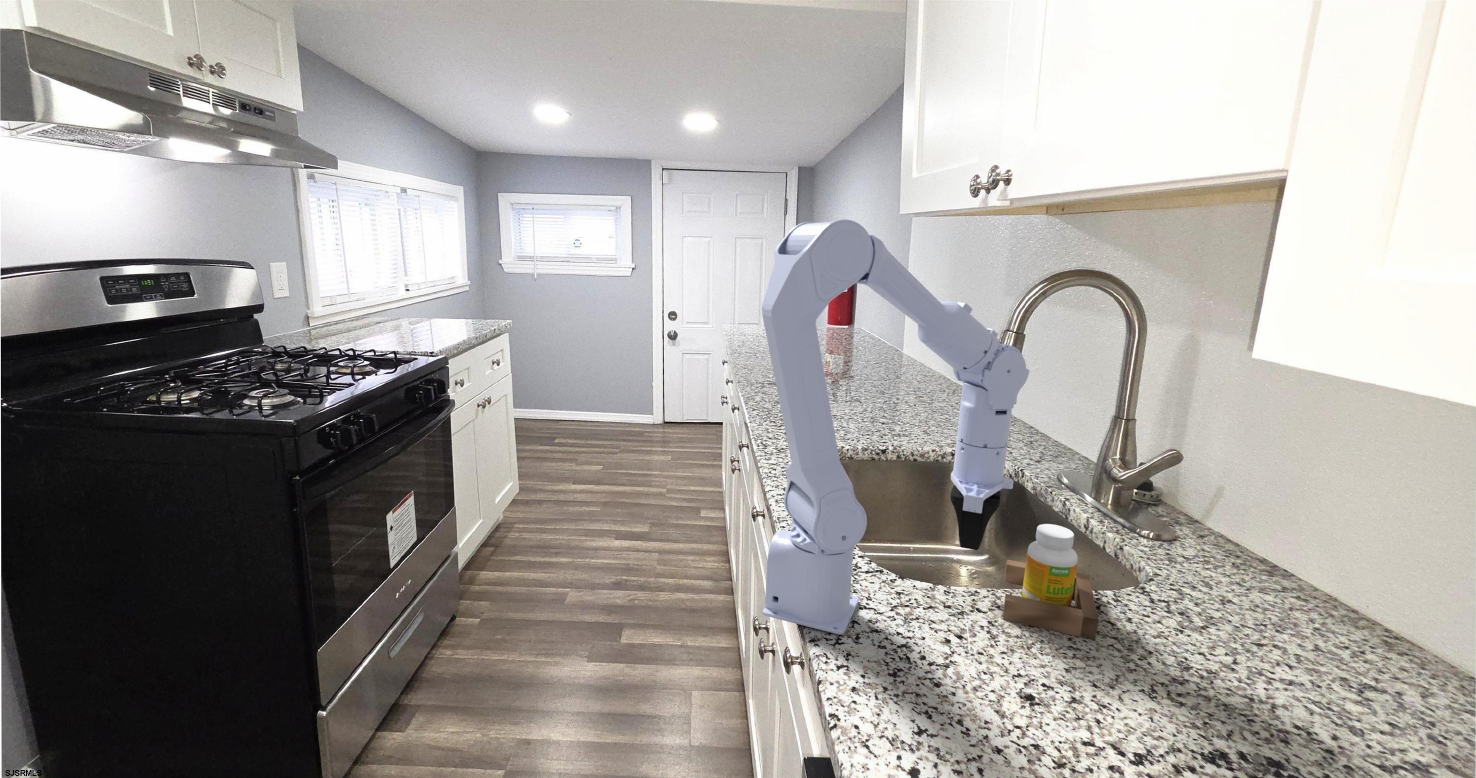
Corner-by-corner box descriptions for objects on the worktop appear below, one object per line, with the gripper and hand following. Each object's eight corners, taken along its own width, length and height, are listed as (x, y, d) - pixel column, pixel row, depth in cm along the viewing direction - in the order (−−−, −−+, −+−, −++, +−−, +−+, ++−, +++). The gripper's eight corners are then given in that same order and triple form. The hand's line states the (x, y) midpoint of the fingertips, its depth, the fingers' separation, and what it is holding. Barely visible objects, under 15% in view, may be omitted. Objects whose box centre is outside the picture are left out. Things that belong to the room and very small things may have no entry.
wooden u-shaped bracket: (1002, 619, 75) (1005, 599, 75) (1004, 576, 85) (1006, 559, 85) (1095, 639, 72) (1098, 619, 71) (1086, 593, 82) (1088, 574, 81)
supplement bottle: (1043, 620, 75) (1054, 543, 73) (1011, 597, 80) (1020, 523, 78) (1080, 613, 77) (1092, 537, 75) (1046, 591, 82) (1056, 519, 80)
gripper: (1017, 463, 70) (1002, 579, 73) (1018, 431, 83) (1005, 530, 86) (949, 453, 73) (937, 566, 75) (959, 424, 86) (949, 520, 89)
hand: (969, 546), depth 81 cm, fingers closed
